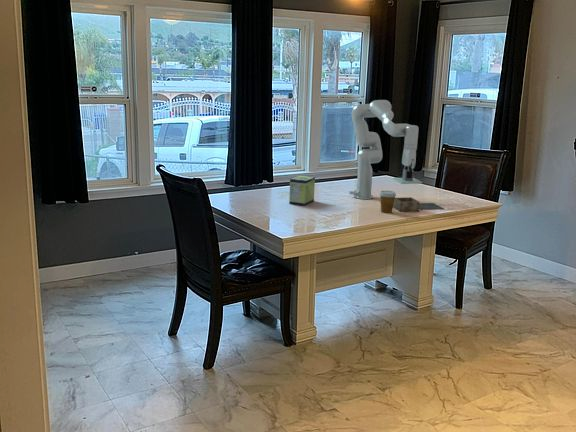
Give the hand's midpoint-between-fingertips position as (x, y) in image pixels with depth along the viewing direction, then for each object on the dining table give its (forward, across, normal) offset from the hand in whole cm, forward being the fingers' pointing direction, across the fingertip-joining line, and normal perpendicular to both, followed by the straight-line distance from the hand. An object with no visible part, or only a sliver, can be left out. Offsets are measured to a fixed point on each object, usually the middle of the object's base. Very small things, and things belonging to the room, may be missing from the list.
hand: (407, 176), depth 350 cm
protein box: (+21, -23, -59) cm, 66 cm away
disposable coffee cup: (+20, +5, -14) cm, 25 cm away
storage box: (+20, 0, 0) cm, 20 cm away
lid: (+3, 0, 0) cm, 3 cm away
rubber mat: (+20, -6, +17) cm, 27 cm away
